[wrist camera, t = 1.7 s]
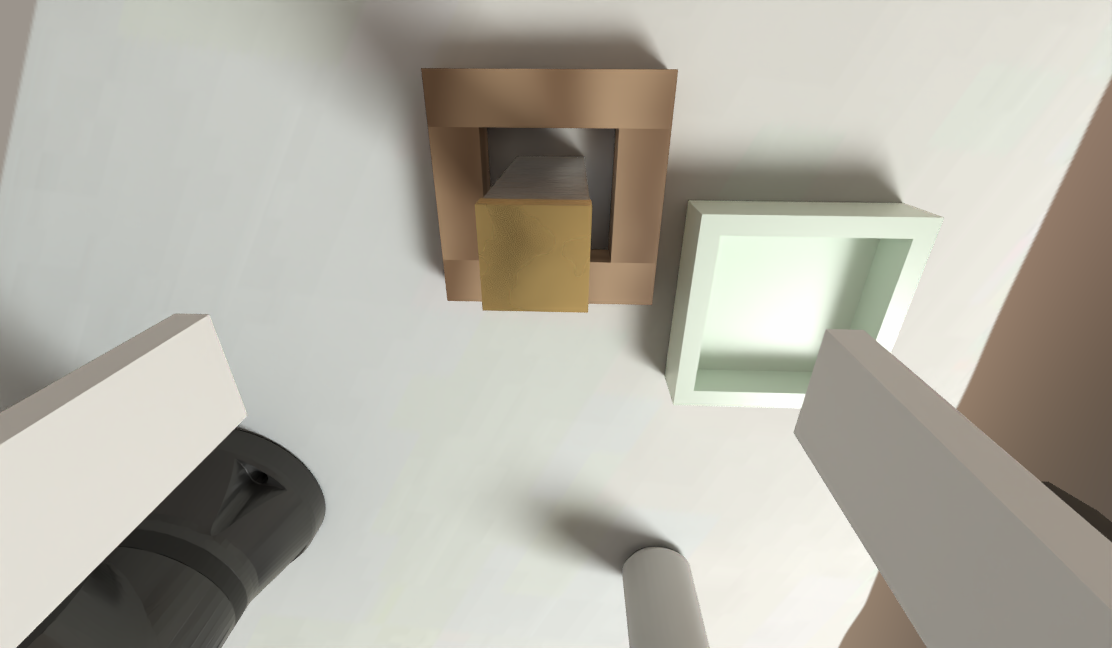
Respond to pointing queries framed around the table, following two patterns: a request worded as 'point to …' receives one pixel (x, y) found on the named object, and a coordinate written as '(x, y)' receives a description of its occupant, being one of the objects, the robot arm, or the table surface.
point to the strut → (536, 236)
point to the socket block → (553, 102)
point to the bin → (786, 292)
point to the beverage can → (662, 601)
